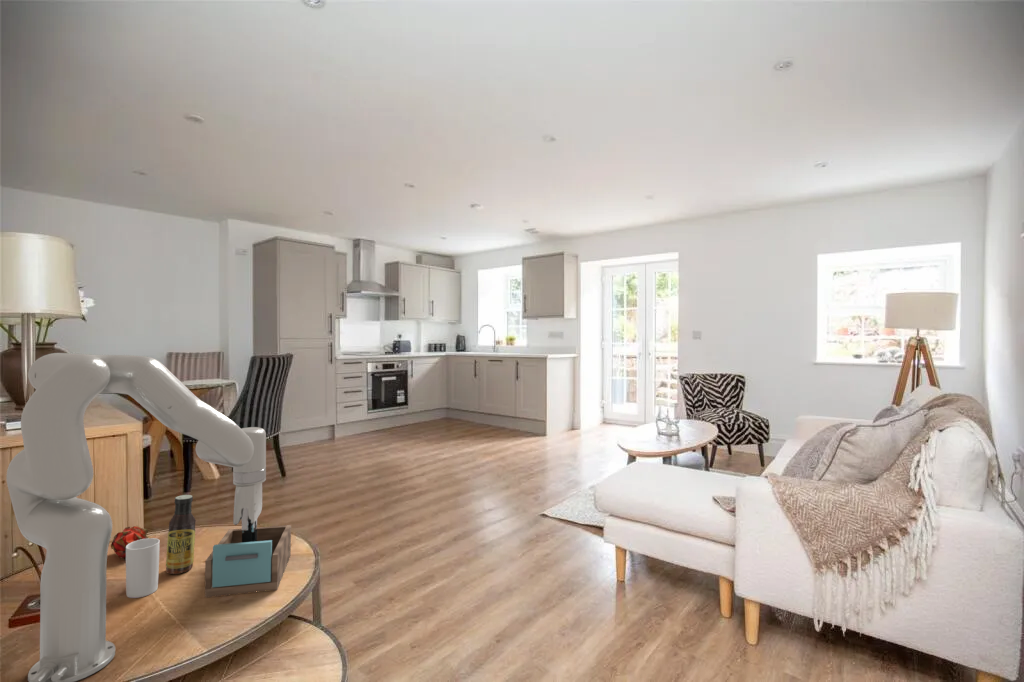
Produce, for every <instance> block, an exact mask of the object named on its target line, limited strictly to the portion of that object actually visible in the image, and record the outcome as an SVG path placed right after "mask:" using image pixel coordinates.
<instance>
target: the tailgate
mask: <svg viewBox="0 0 1024 682" xmlns="http://www.w3.org/2000/svg"><path fill="white" fill-rule="evenodd" d="M212 551H213V578H212V587H222V586H232V585H242V584H252V583H262V582H270V581H271V573H272V540H268V541H255V542H243V543H230V544H213V546H212Z"/></svg>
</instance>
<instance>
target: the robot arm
mask: <svg viewBox="0 0 1024 682" xmlns="http://www.w3.org/2000/svg"><path fill="white" fill-rule="evenodd" d="M27 378H28V379H27V380H28V381H29V384H30V385H31V387H33V388H34V389H35V390H34V392H33V393H32V394H31V395H30V396H29V399H28V401H27V402H26V403H25V406H24V407H23V410H22V413H21V418H20V430H21V436H22V443H23V449H22V450H20V451H19V452H18V453H17V454H16V455H15V456H14V457H13V458H12V459H11V461H10V462H9V465H8V467H7V470H6V476H5V477H6V485H7V490H8V494H9V497H10V501H11V505H12V509H13V512H14V516H15V521H16V523H17V527H18V529H19V531H20V533H21V535H22V536H23V538H25V539H26V540H27V541H29V542H31V543H33V544H35V545H38V546H40V547H42V548H44V549H46V555H45V560H44V564H43V566H42V571H41V575H40V589H39V591H40V592H39V593H40V600H39V601H40V604H39V606H40V609H39V610H40V614H39V617H40V618H39V619H40V620H39V623H40V625H39V626H40V627H39V660H38V661H37V662H36V663H34V665H32V667H31V668H30V669H29V671H28V674H27V681H28V682H79V681H80V680H81V681H82V680H83V679H85V678H88V677H90V676H92V675H93V674H96V673H97V672H98V671H100V670H102V669H103V668H104V667H106V666H107V665H108V664H109V663H111V661H112V660H113V659H114V657H115V656H116V645H115V644H114V642H112V641H109V640H107V638H106V637H107V636H106V635H107V634H106V633H107V632H106V631H107V561H108V560H107V559H108V551H109V545H110V541H111V539H112V533H113V520H112V517H111V515H110V513H109V512H108V511H107V510H106V508H104V507H103V506H102V505H100V504H98V503H95V502H93V501H90V500H87V499H84V498H83V499H82V498H79V497H78V496H81V495H82V494H83V493H85V492H86V491H87V490H88V489H89V488H90V486H91V484H92V482H93V478H94V466H93V462H92V459H91V454H90V449H89V445H88V441H87V436H86V432H85V423H84V419H85V415H86V414H85V413H86V410H87V409H88V407H89V406H90V404H91V402H92V401H93V400H94V399H95V398H96V397H97V396H98V395H100V394H101V395H103V394H104V395H105V394H122V395H128V396H129V397H131V398H132V399H134V401H136V402H137V403H138V404H140V406H141V407H142V408H143V409H145V410H146V411H147V412H149V414H150V415H152V416H153V417H154V418H155V419H156V420H158V421H159V422H160V423H161V424H162V425H164V426H165V427H167V428H169V429H170V430H173V431H175V432H177V433H180V434H182V435H185V436H187V437H190V438H193V439H195V440H196V441H197V442H196V444H195V454H196V455H197V457H198V458H199V459H200V460H202V461H203V462H206V463H210V464H215V465H221V466H225V467H229V468H230V467H231V468H232V485H234V486H235V491H234V502H233V516H232V517H233V521H232V523H233V525H234V526H237V525H239V523H240V521H241V529H242V543H243V542H255V541H257V529H256V528H257V527H258V518H259V516H260V514H262V509H263V483H265V481H266V480H267V433H266V430H265V429H264V428H262V427H258V426H250V427H242V428H241V427H240V426H239V425H238V424H237V423H236V422H235V421H233V420H232V419H230V418H229V417H227V416H226V415H225V414H223V413H222V412H220V411H218V410H217V409H215V408H214V407H212V406H211V405H210V404H208V403H206V402H205V401H203V400H201V399H200V398H199V397H198V396H196V395H195V394H194V392H192V391H191V390H190V389H189V388H188V387H187V386H186V385H185V384H184V383H183V382H182V381H181V380H180V379H178V378H177V376H176V375H174V374H173V373H172V372H171V371H170V370H169V369H168V368H167V367H166V366H165V365H164V364H163V363H162V362H161V361H160V360H158V359H156V358H154V357H152V356H145V355H131V354H90V353H89V354H88V353H85V354H84V353H69V352H67V353H66V352H54V353H53V352H52V353H48V354H45V355H42V356H41V357H39V358H37V359H36V360H35V361H33V363H32V364H31V365H30V367H29V368H28V372H27Z"/></svg>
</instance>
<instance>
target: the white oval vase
mask: <svg viewBox="0 0 1024 682" xmlns="http://www.w3.org/2000/svg"><path fill="white" fill-rule="evenodd" d="M159 569H160V539H159V538H155V537H149V538H146V539H141V540H137V541H134V542H131V543H129V544H128V545H127V546H126V559H125V588H126V589H125V593H126V597H127V598H129V599H137V598H144V597H146V596H149V595H151V594H153V593H155V592H157V590H158V588H159V587H158V586H159V572H160V571H159Z"/></svg>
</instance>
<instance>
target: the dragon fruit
mask: <svg viewBox="0 0 1024 682" xmlns="http://www.w3.org/2000/svg"><path fill="white" fill-rule="evenodd" d="M148 531H149V530H148V529H147V528H143V527H141V526H140V525H134V526H127V527H125V528H124V529H123V530H122V531H120V532H118V533H116V534H115V535H114V536H113V539H112V542H111V544H110V549H111V550H113V551H114V554H115V555H116V556H118V557H119V559H120V560H122V561H126V546H127V545H128V544H129V543H131V542H134V541H137V540H141V539H146V538H150V537H148V536H147V533H148Z"/></svg>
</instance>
